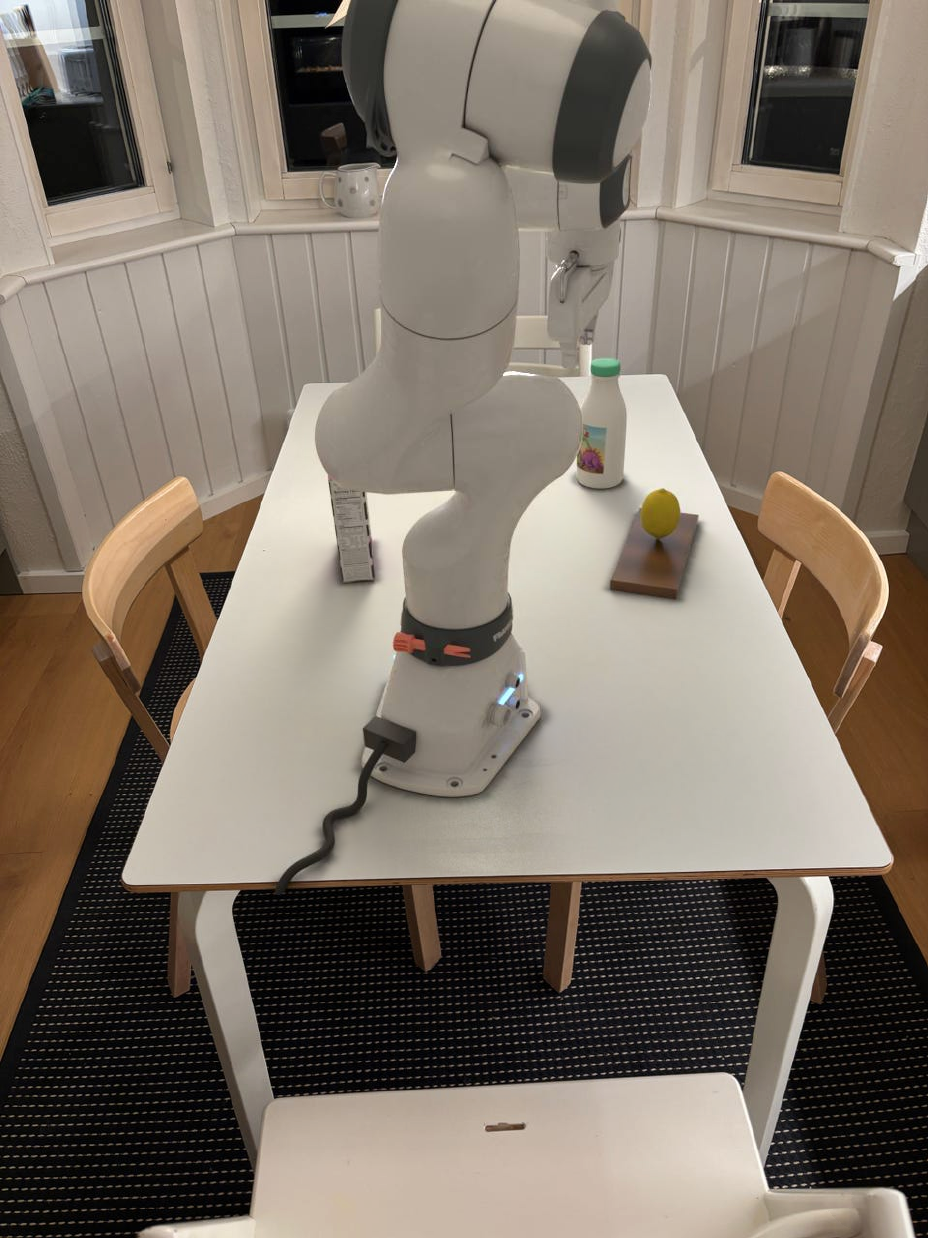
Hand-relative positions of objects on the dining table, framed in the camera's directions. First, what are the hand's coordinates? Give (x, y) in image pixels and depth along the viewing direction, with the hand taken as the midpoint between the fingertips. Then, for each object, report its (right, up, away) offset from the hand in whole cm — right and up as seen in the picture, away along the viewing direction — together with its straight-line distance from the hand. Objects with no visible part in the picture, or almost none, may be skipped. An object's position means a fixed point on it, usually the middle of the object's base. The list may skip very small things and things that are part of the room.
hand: (578, 354), depth 123 cm
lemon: (+13, -23, +15) cm, 30 cm away
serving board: (+13, -25, +14) cm, 31 cm away
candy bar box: (-30, -26, +15) cm, 43 cm away
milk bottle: (+8, -11, +35) cm, 38 cm away
